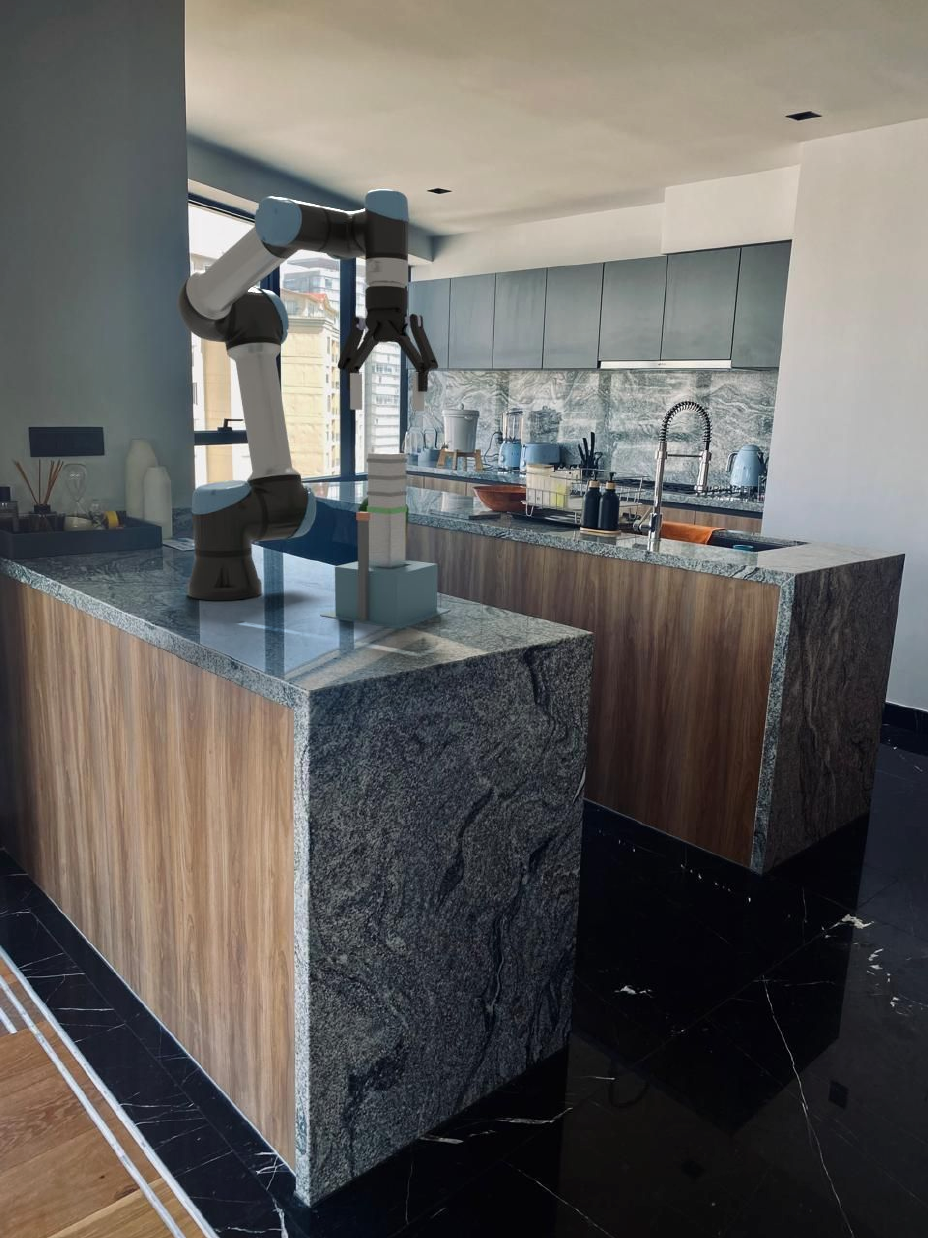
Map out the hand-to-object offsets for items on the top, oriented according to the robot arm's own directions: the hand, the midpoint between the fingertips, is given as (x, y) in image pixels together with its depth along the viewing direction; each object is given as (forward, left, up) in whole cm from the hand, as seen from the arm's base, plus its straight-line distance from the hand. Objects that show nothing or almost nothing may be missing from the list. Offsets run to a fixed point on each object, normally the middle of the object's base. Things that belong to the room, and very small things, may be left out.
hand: (386, 410), depth 160 cm
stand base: (0, 0, -39) cm, 39 cm away
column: (0, 0, -30) cm, 30 cm away
